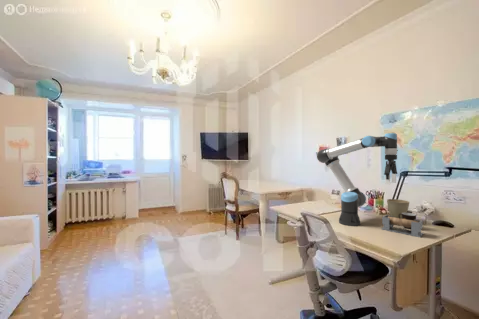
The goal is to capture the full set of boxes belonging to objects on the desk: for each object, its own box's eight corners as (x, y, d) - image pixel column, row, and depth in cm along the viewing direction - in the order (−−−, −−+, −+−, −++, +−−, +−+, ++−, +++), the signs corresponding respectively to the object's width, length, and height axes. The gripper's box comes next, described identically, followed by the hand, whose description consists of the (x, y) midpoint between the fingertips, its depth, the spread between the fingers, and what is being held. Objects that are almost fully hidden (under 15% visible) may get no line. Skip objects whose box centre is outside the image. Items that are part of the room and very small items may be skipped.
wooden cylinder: (387, 224, 163) (386, 217, 163) (389, 222, 167) (389, 215, 166) (417, 230, 151) (416, 222, 150) (419, 227, 154) (418, 220, 153)
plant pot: (403, 224, 176) (403, 203, 176) (382, 219, 189) (383, 200, 189) (413, 221, 183) (413, 201, 183) (393, 217, 196) (393, 198, 196)
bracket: (381, 229, 164) (381, 216, 164) (385, 227, 170) (385, 214, 170) (420, 237, 148) (420, 223, 148) (423, 234, 153) (423, 220, 153)
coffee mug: (419, 230, 162) (419, 215, 162) (405, 229, 164) (405, 215, 164) (410, 225, 174) (410, 211, 173) (397, 224, 175) (397, 211, 175)
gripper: (391, 154, 160) (391, 185, 160) (401, 154, 176) (401, 182, 177) (379, 154, 165) (379, 184, 166) (390, 154, 182) (390, 181, 182)
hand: (390, 183), depth 171 cm, fingers open, 13 cm apart
